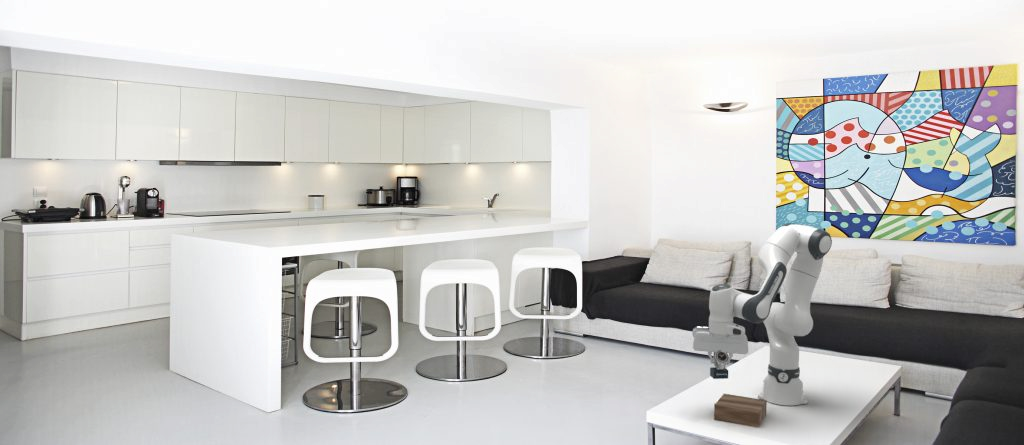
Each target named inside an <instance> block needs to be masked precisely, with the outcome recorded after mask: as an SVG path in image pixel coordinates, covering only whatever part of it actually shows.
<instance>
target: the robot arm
mask: <svg viewBox="0 0 1024 445" xmlns="http://www.w3.org/2000/svg"><path fill="white" fill-rule="evenodd" d="M832 244H833V240H832V236H831V234H830V233H829V232H828V231H826V230H824V229H821V228H816V227H813V226H810V225H804V224H798V223H797V224H795V223H784V224H782V225H781V226H780V227H778V228H777V229H776V230H775V231H774V232H773V233H772V234H771V235H770V236H769V237H768V238H767V240H766V241H765V242H764V244H763V245H762V246H761V248H760V250H759V251H758V255H757V261H758V264H759V266H760V267H761V269H762V270H763V271H764V272H766V278H765V279H764V282H763V284H762V285H761V287H760V289H759V291H758V292H757V293H756V294H750V293H747V292H743V291H740V290H738V289H736V288H734V287H732V285H730V284H725V283H723V284H717V285H715V286H713V287H712V288H711V289H710V294H709V300H708V301H709V302H708V309H709V313H710V314H709V316H708V326H696V327H694V328H693V329H692V332H691V333H692V337H693V344H692V349H693V350H694V351H695V352H696V351H697V352H706V353H707V355H708V358H709V359H710V364H714V363H715V358H713V355H712V353H714V352H716V351H719V350H721V351H723V352H725V353H727V354H728V356H729V358H728V361H727V364H726V365H727V366H728V365H730V364H731V362H730V361H731V360H732V358H733V356H734V354H735V355H739V354H740V355H747V354H749V341H748V336H747V335H746V328H745V327H744V326H743V325H739V324H737V323H734V318H735V317H736V318H739V319H742V320H746V321H747V322H750V323H752V324H760V323H763V324H764V327H765V328H766V334H767V337H768V342H769V364H768V366H767V375H766V376H765V377H764V378H763V381H762V382H763V385H762V391H761V392H759V394H758V395H757V399H762V400H767V403H771V404H774V405H778V406H779V405H780V406H789V407H790V406H798V405H807V404H808V403H809V402H808V399H807V398H806V397H805V395H804V383H803V381H802V380H801V379H800V373H801V369H800V366H799V364H800V348H799V345H798V344H797V341H796V340H795V337H805V336H807V335H808V334H809V333H811V331H812V330H813V328H814V320H813V317H812V315H811V299H812V295H813V294H814V292H815V291H814V290H815V287H816V285H817V282H818V281H819V278H820V275H821V272H822V267H823V263H824V257H825V256H826V255H827V254H828V253H829V251H830V250H831V248H832ZM795 252H796V257H795V258H794V260H793V262H792V264H791V266H790V268H789V272H787V271H788V269H787V265H788V263H789V261H790V260H791V259H792V257H793V256H794V254H795ZM787 273H788V274H787ZM785 278H786V279H785ZM784 280H785V281H784ZM782 285H783V291H784V292H785V300H784V303H782V302H774V300H775V298H776V297H777V295H778V294H779V291H780V290H781V287H782Z"/></svg>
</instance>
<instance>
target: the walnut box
mask: <svg viewBox="0 0 1024 445" xmlns="http://www.w3.org/2000/svg"><path fill="white" fill-rule="evenodd" d="M767 403H768V401H767V400H764V399H761V398H755V397H749V396H741V395H735V394H729V393H723V394H722V395H721V397H720V398H719V399H718V400H717V401H716V403H714V409H713V420H714V421H718V422H719V421H720V422H725V423H731V424H736V425H742V426H746V427H754V428H759V427H760V426H761V424H762V422H763V421H764V420H765V418H764V417H766V416H767V406H768V405H767Z"/></svg>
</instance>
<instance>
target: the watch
mask: <svg viewBox="0 0 1024 445" xmlns="http://www.w3.org/2000/svg"><path fill="white" fill-rule="evenodd" d="M712 357H713V358H715V363H713V365H714V366H713V367H710V368H709V376H710V377H711V378H712V379H715V380H718V379H719V380H721V379H722V380H723V379H729V369H727V368H726V365H727V361H728V358H729V357H730V356H729V353H725V352H723V351H721V350H719V351H716V352H713V355H712Z"/></svg>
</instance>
